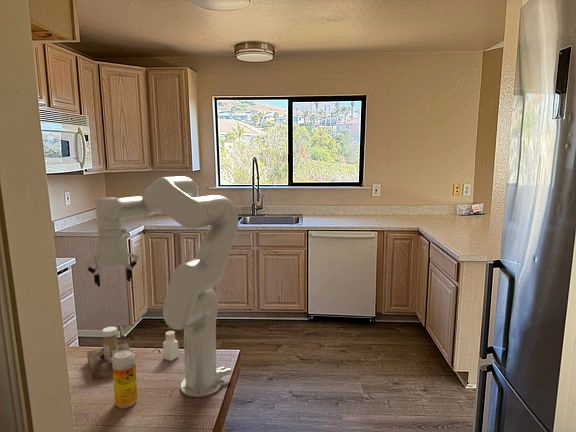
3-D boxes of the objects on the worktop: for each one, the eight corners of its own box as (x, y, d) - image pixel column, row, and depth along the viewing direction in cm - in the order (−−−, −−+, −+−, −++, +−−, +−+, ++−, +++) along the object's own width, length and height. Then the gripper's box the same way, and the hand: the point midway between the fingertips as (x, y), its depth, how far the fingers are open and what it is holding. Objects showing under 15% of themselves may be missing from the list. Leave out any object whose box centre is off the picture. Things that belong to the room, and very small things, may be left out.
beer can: (123, 411, 110) (120, 361, 108) (110, 404, 114) (107, 355, 112) (142, 400, 116) (139, 352, 114) (128, 394, 119) (126, 347, 117)
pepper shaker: (162, 358, 140) (161, 333, 139) (171, 354, 144) (170, 329, 142) (170, 361, 138) (169, 336, 137) (179, 357, 142) (178, 331, 140)
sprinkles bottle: (120, 367, 135) (118, 329, 133) (105, 371, 132) (103, 332, 130) (117, 361, 138) (115, 324, 137) (103, 365, 136) (100, 327, 134)
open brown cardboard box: (127, 353, 145) (126, 338, 144) (135, 370, 133) (134, 353, 132) (88, 362, 138) (86, 346, 137) (92, 381, 126) (91, 364, 125)
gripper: (134, 229, 142) (137, 276, 144) (80, 235, 132) (84, 284, 135) (139, 232, 136) (142, 281, 138) (83, 238, 126) (87, 290, 128)
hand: (113, 282), depth 136 cm, fingers open, 9 cm apart
